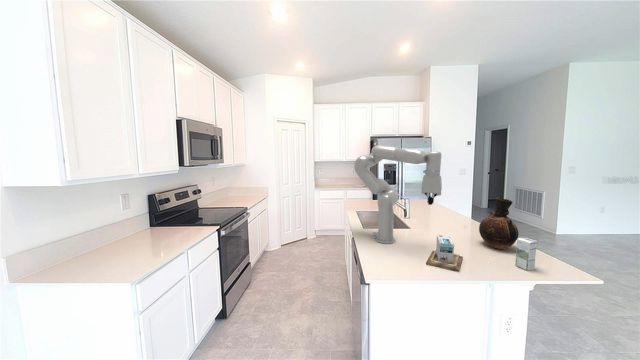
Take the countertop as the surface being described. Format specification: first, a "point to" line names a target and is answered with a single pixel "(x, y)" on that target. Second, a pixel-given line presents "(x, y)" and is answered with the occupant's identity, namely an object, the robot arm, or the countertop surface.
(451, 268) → the brown shallow tray
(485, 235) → the ceramic vessel
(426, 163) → the robot arm
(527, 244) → the syrup box
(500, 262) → the countertop surface
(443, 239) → the light bulb box
